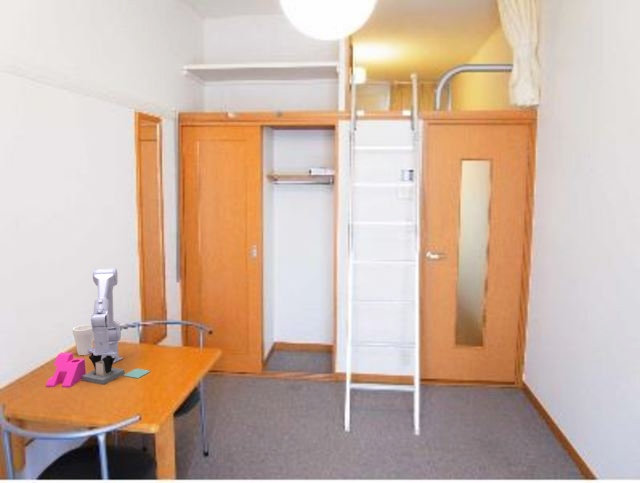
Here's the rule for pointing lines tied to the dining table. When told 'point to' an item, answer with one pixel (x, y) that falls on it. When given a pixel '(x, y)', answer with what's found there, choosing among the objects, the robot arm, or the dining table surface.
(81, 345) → the foam cup
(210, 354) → the dining table surface
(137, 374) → the pad
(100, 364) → the block
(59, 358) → the bracket
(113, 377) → the pocket board
